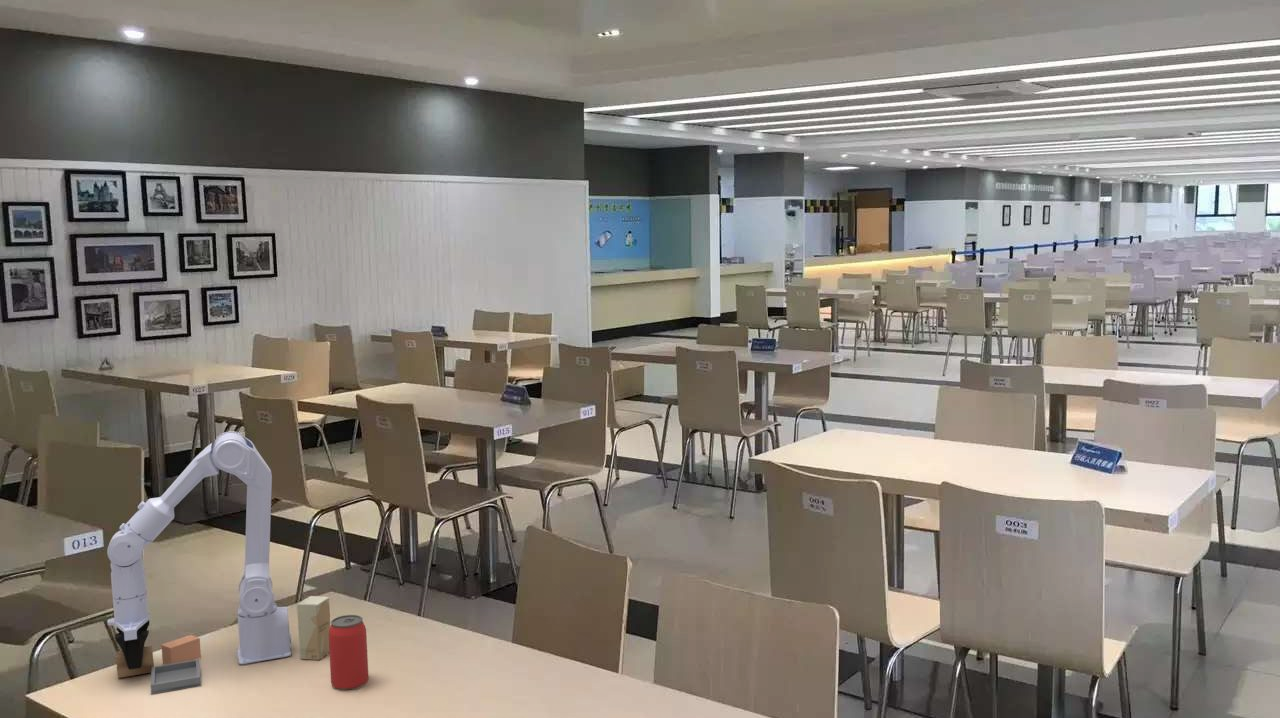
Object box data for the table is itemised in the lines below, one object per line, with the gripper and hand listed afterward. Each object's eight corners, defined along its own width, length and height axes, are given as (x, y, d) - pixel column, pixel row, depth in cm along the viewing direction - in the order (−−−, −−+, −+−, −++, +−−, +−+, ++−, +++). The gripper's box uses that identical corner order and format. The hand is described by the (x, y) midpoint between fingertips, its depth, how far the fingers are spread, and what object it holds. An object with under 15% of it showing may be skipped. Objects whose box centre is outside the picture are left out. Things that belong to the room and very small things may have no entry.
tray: (199, 667, 197) (199, 658, 197) (200, 685, 189) (200, 676, 189) (152, 675, 194) (151, 666, 194) (151, 694, 185) (150, 685, 185)
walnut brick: (153, 665, 197) (152, 645, 197) (153, 671, 195) (151, 651, 194) (118, 671, 195) (116, 651, 195) (117, 678, 192) (116, 657, 192)
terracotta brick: (192, 654, 204) (190, 634, 204) (201, 657, 202) (199, 638, 202) (162, 664, 199) (161, 644, 199) (171, 668, 197) (170, 648, 197)
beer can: (375, 678, 190) (372, 615, 189) (354, 693, 184) (351, 628, 183) (345, 674, 193) (342, 612, 191) (323, 688, 186) (320, 624, 185)
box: (319, 660, 199) (316, 605, 198) (299, 659, 200) (295, 604, 199) (332, 650, 204) (329, 596, 203) (312, 649, 205) (309, 594, 204)
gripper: (108, 586, 198) (113, 654, 200) (103, 610, 185) (109, 682, 186) (148, 580, 201) (154, 648, 202) (146, 603, 188) (152, 675, 189)
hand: (135, 664), depth 195 cm, fingers closed on walnut brick, 3 cm apart
